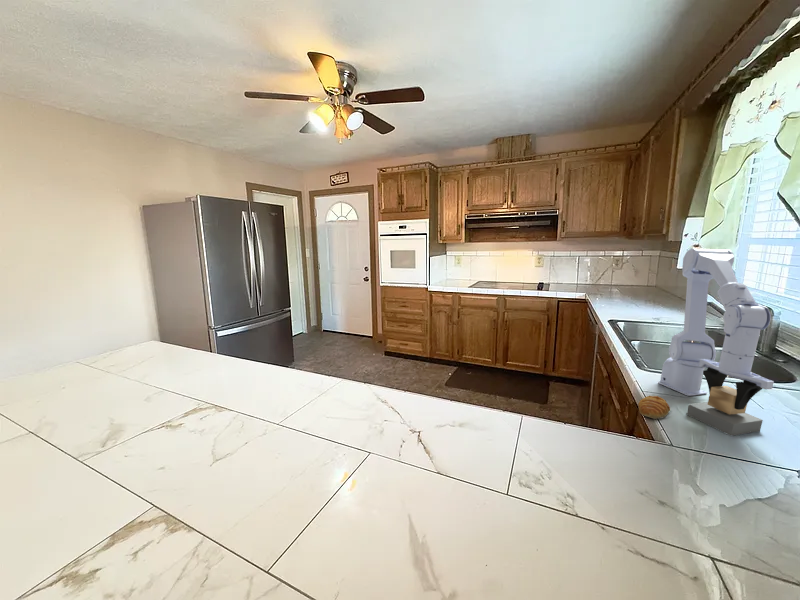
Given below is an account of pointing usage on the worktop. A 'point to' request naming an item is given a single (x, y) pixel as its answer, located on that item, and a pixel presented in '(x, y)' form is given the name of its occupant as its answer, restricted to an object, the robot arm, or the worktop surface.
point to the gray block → (724, 419)
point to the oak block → (724, 399)
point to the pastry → (653, 407)
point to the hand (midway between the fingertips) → (726, 403)
